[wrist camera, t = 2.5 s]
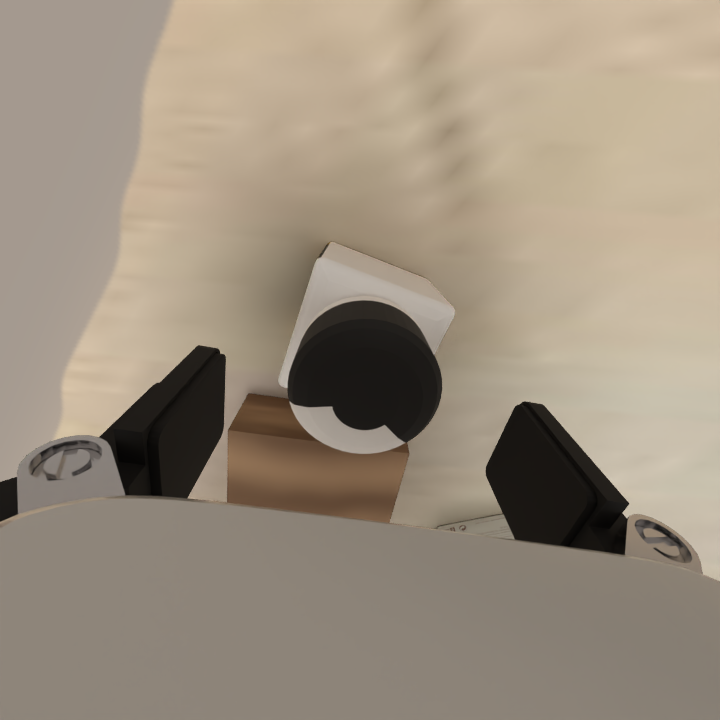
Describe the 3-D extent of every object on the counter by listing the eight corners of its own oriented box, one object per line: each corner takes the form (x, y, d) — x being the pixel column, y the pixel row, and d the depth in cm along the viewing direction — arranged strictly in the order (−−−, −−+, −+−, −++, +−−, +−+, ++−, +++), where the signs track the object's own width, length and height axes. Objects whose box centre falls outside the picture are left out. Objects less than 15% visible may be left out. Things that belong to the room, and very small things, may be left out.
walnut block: (373, 517, 33) (376, 568, 28) (245, 502, 32) (226, 553, 27) (400, 412, 28) (409, 453, 23) (249, 391, 27) (228, 430, 22)
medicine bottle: (328, 239, 22) (300, 277, 11) (430, 279, 23) (498, 351, 12) (296, 337, 24) (248, 447, 14) (388, 369, 26) (412, 494, 15)
